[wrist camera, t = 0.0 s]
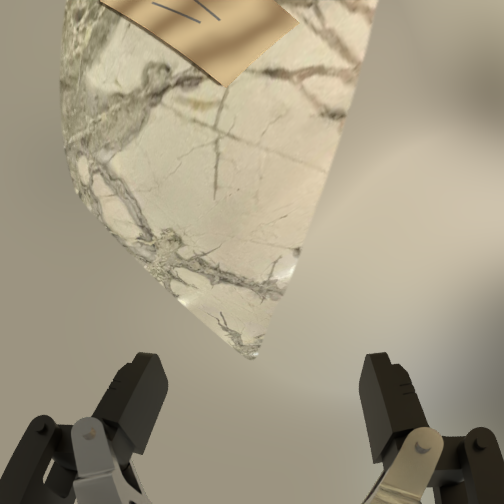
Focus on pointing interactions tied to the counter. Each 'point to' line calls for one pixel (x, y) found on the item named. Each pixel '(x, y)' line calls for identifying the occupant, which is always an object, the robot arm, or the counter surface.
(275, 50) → the counter surface
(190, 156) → the counter surface
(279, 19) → the oak board
